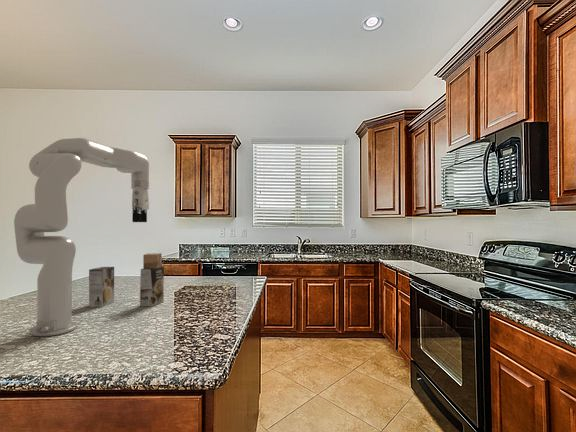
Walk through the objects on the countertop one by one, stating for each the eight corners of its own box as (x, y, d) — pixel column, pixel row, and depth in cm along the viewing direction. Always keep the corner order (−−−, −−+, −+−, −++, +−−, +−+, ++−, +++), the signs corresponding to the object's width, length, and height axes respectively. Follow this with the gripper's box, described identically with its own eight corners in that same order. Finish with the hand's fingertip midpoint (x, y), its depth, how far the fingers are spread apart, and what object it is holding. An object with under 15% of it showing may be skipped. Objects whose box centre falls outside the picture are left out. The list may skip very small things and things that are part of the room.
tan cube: (157, 268, 146) (157, 254, 146) (143, 268, 145) (143, 254, 145) (161, 266, 151) (161, 253, 152) (147, 266, 151) (147, 253, 151)
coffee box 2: (153, 306, 143) (153, 269, 143) (139, 306, 144) (139, 268, 144) (164, 301, 152) (164, 266, 152) (151, 301, 153) (151, 266, 153)
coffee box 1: (100, 301, 152) (101, 266, 152) (114, 301, 152) (114, 266, 152) (88, 306, 143) (88, 269, 143) (103, 306, 143) (103, 269, 143)
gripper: (142, 183, 148) (142, 222, 147) (153, 187, 165) (153, 222, 165) (124, 183, 147) (124, 222, 147) (137, 187, 164) (137, 222, 164)
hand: (139, 222), depth 156 cm, fingers open, 9 cm apart
